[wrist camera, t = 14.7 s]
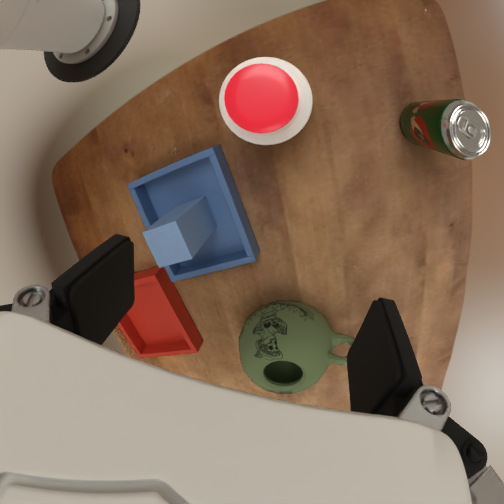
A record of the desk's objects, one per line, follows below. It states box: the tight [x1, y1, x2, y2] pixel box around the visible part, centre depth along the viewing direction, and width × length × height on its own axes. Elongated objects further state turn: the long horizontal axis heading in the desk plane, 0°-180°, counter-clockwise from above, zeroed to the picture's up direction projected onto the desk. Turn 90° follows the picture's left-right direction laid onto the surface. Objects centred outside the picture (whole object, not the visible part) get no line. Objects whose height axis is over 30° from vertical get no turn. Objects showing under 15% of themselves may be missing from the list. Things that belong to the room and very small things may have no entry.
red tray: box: [118, 266, 203, 358], centre depth 43 cm, size 14×12×3 cm
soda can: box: [401, 99, 491, 160], centre depth 22 cm, size 5×5×12 cm
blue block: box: [142, 196, 217, 268], centre depth 32 cm, size 4×4×9 cm
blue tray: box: [127, 145, 260, 282], centre depth 35 cm, size 14×12×3 cm
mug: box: [239, 301, 355, 394], centre depth 38 cm, size 16×13×9 cm
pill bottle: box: [219, 57, 313, 145], centre depth 25 cm, size 8×8×11 cm
